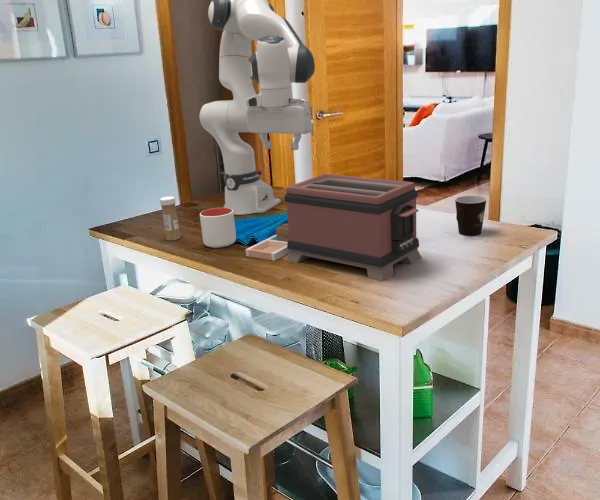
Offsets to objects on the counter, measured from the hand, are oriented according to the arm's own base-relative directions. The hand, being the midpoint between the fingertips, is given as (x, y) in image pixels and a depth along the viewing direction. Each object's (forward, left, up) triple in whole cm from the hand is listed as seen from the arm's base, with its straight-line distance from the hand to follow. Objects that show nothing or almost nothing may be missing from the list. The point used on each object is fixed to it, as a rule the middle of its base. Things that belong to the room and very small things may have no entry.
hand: (281, 149), depth 169 cm
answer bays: (+5, 0, -28) cm, 28 cm away
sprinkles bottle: (+10, -38, -28) cm, 48 cm away
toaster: (+5, +26, -28) cm, 38 cm away
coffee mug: (-27, +44, -28) cm, 59 cm away
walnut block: (0, 0, -28) cm, 28 cm away
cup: (+8, -20, -28) cm, 36 cm away
